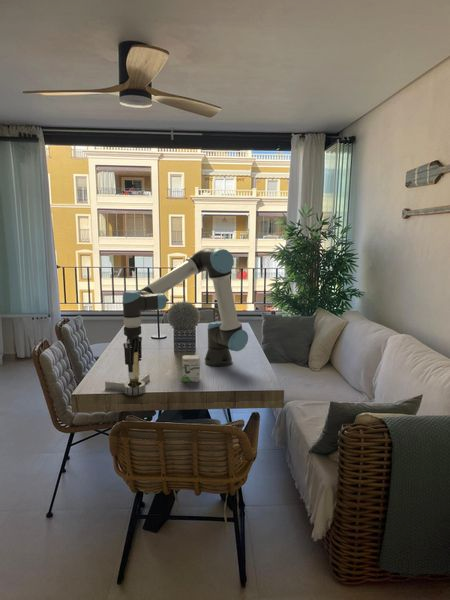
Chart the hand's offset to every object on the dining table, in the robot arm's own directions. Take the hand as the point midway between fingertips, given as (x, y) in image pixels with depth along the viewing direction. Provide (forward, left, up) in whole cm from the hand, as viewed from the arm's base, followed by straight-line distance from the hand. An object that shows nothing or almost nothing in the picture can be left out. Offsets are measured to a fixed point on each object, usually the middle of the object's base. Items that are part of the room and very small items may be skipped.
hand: (134, 376), depth 176 cm
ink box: (-20, -20, -7) cm, 29 cm away
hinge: (+5, -5, -7) cm, 10 cm away
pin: (0, 0, -5) cm, 5 cm away
